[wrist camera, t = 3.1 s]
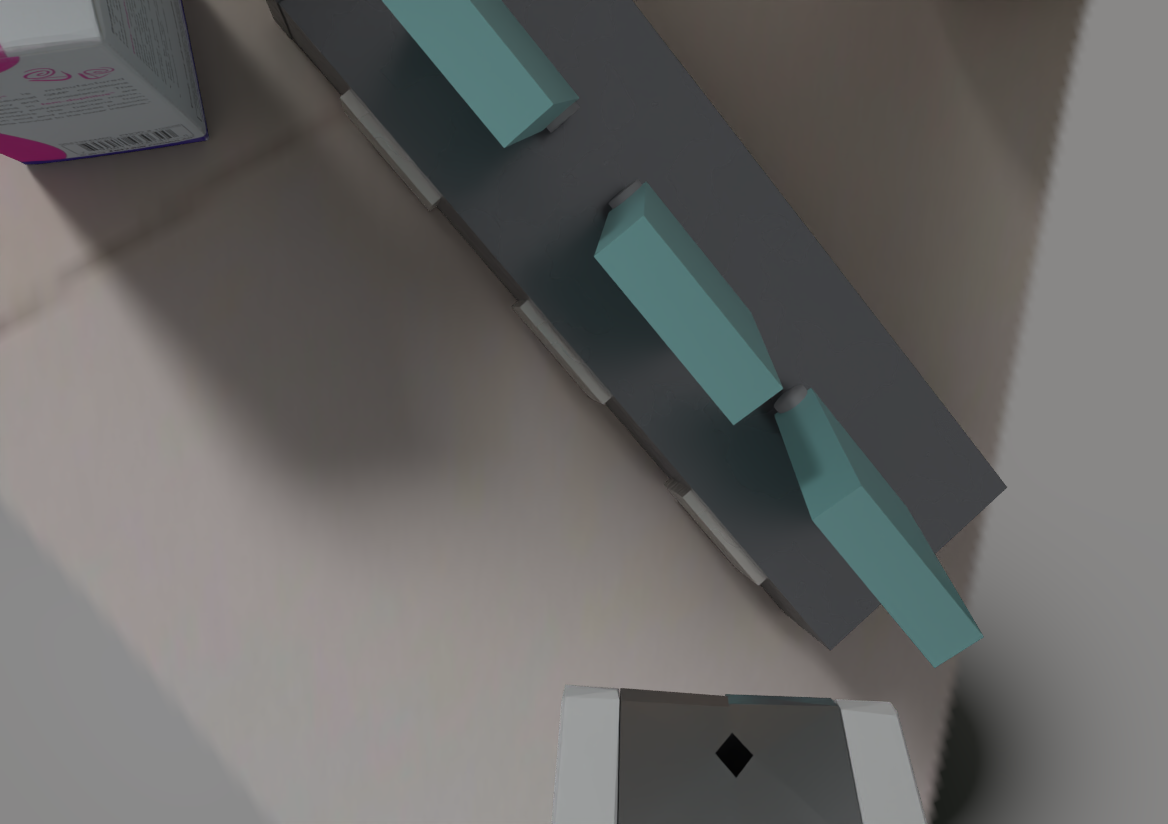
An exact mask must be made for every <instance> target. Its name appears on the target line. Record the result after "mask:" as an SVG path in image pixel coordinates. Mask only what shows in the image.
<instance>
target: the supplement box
mask: <svg viewBox="0 0 1168 824" xmlns="http://www.w3.org/2000/svg"><path fill="white" fill-rule="evenodd" d="M208 139H209V135H208V130H207V123H206V118H205V114H204V109H203V104H202V99H201V94H200V89H199V84H198V79H197V74H196V68H195V63H194V58H193V53H192V48H191V43H190V38H189V33H188V28H187V24H186V19H185V14H184V9H183V4H182V0H0V153H1V154H3V155H6V156H8V157H10V158H13V159H15V160H18V161H20V162H22V163H24V164H43V163H52V162H61V161H69V160H76V159H83V158H92V157H98V156H105V155H113V154H120V153H127V152H135V151H141V150H148V149H155V148H161V147H168V146H174V145H180V144H187V143H193V142H199V141H207V140H208Z"/></svg>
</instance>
